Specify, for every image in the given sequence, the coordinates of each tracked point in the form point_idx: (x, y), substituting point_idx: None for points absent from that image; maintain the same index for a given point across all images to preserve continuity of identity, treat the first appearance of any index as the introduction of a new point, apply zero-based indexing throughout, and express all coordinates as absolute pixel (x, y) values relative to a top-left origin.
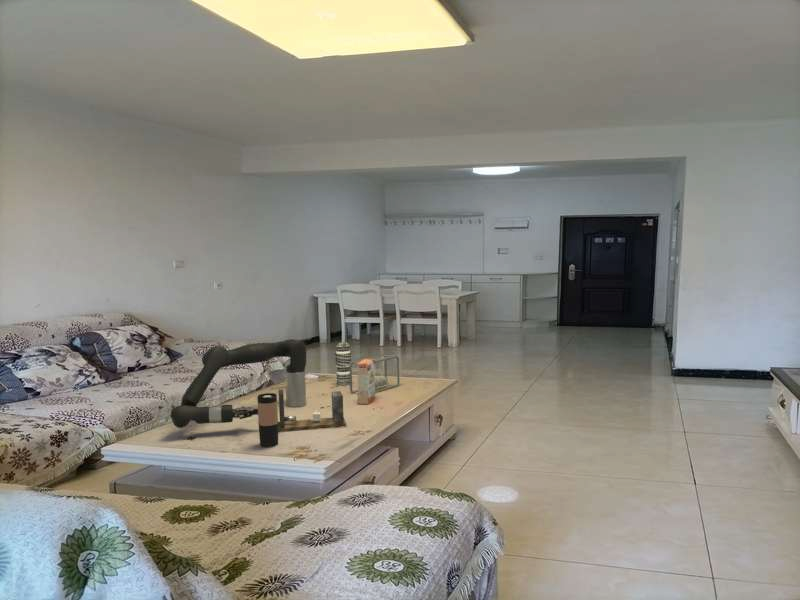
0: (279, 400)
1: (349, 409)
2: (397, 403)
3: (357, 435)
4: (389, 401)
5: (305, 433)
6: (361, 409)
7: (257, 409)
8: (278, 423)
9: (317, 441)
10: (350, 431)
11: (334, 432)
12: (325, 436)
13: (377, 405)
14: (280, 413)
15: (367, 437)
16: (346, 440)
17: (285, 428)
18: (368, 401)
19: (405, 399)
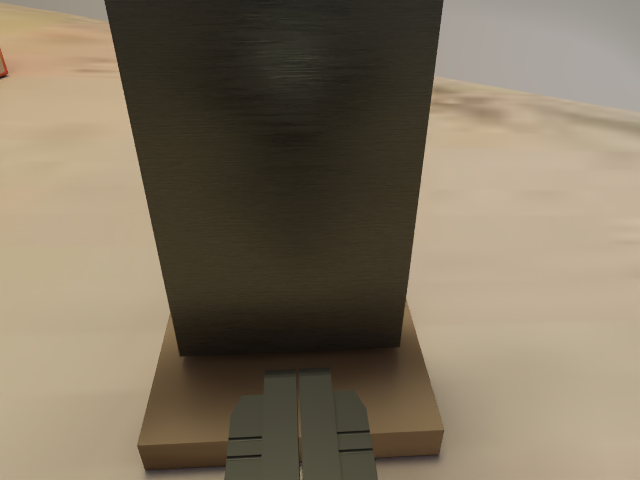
0: (433, 67)
1: (31, 110)
2: (68, 40)
3: (500, 109)
4: (17, 47)
5: (467, 239)
6: (70, 89)
7: (338, 437)
8: (224, 374)
9: (633, 198)
10: (436, 119)
11: (450, 151)
12: (527, 175)
13: (47, 64)
14: (411, 225)
15: (527, 94)
16: (583, 130)
17: (410, 320)
18: (3, 59)
19: (30, 30)
